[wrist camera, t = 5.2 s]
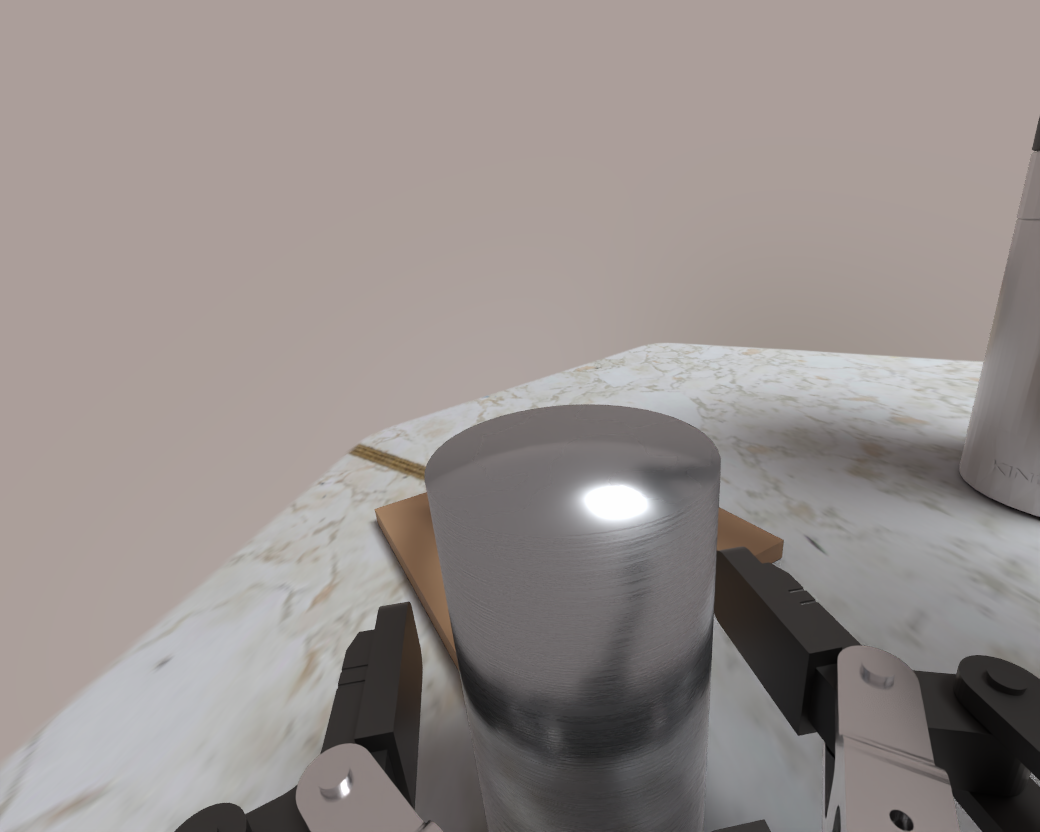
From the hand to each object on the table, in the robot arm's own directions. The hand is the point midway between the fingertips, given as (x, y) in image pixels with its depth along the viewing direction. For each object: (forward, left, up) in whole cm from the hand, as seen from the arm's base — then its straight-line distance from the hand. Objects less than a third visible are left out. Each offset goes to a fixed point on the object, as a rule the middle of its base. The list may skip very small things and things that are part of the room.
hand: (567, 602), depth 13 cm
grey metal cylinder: (+1, +1, -7) cm, 7 cm away
